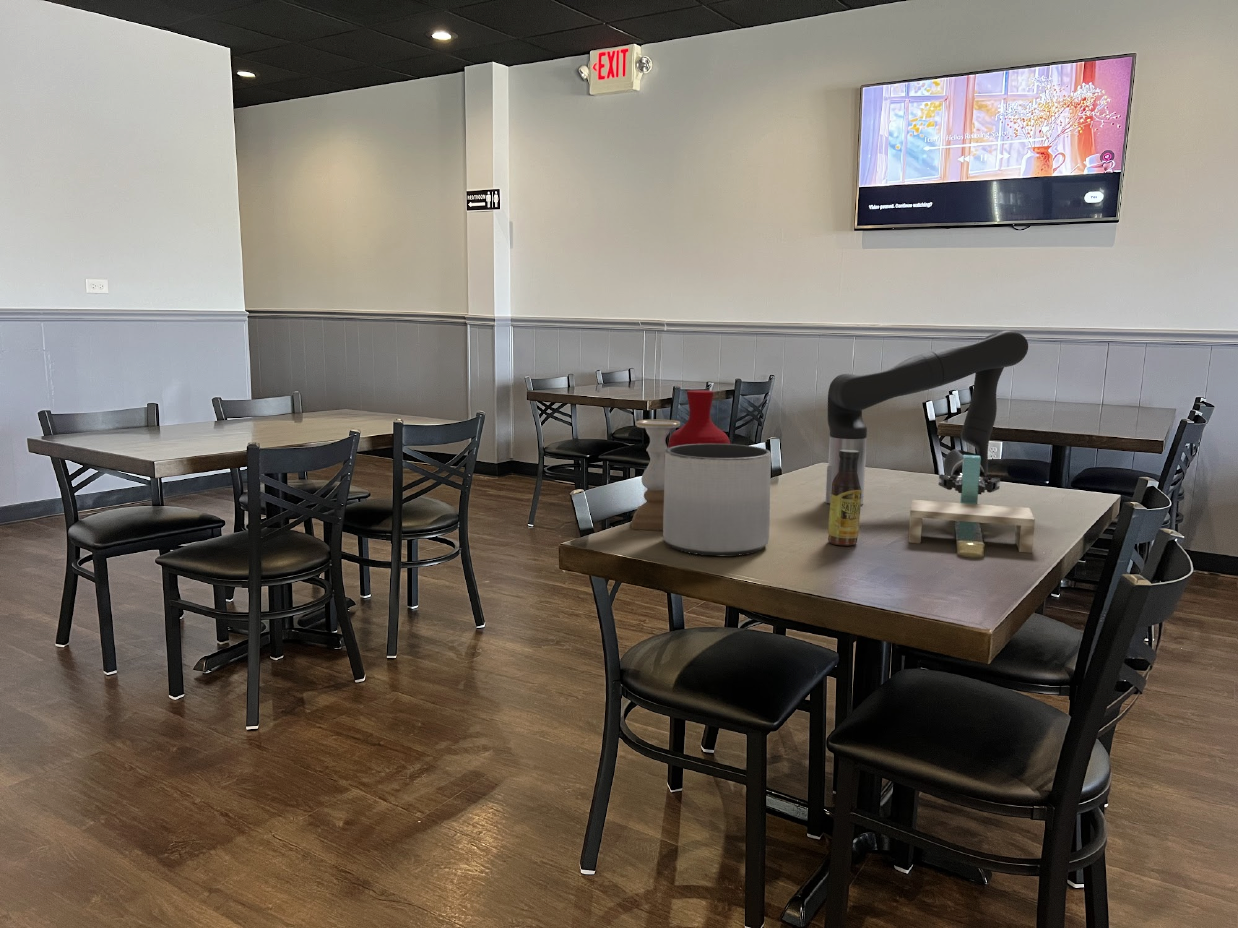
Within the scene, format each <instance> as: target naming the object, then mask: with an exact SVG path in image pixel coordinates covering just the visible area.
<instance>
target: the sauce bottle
mask: <svg viewBox="0 0 1238 928" xmlns="http://www.w3.org/2000/svg"><path fill="white" fill-rule="evenodd" d="M839 457H840V462H839V472H838V474H837V475H836V476H835V478H834V480H833V482H832V493H831V499H830V503H829V514H828V527H827V529H828V530H827V534H828V537H827V542H828V543H830V544H832V545H836V546H846V547H847V546H848V547H849V546H853V545H857V543H858V537H859V531H860V530H859V529H860V520H861V519H860V517H861V505H862V504H861V493H862V490H861V487H860V483H859V478H858V474H857V463H858V458H859V451H856V450H840V451H839Z"/></svg>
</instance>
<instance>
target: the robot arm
mask: <svg viewBox="0 0 1238 928" xmlns="http://www.w3.org/2000/svg"><path fill="white" fill-rule="evenodd" d="M1028 351H1029V342H1028V340H1027V338H1026V337H1025V336H1024V335H1023V334H1022V333H1020V332H1018V331H1015V330H1002V331H999V332H995V333H992V334H989V335H987V336H986V337H984V338H983V339H982V340H980V341H976V342H974V343H970V344H964V345H958V346H952V347H946V348H941V349H936V350H931V351H928V352H925V353H924V352H923V353H921V354H918V355H914V356H912V357H909V358H907V359H905V360H904V361H901V362H900V363H898V364H896V365H895V366H893V367H891V368H889V369H886V370H882V371H877V372H873V373H867V374H853V373H842V374H839V375H837V376H835V378H834V379H833V380H832V381H831V382H830V385H829V386H828V387H829V388H828V390H827V391H828V392H827V425H828V428H829V429H828V430H829V441H828V442H829V447H828V465H827V467H826V480H825V481H826V483H825V504H830V499H831V493H832V482H833V480H834V478H835V476H836V475H837V474H838V472H839V462H840V457H839V451H840V450H856V451H859V458H858V463H857V474H858V478H859V483H860V487H861V490H862V493H861V505H863V504H864V498H865V476H866V461H867V460H866V457H867V455H866V454H867V438H868V437H867V436H868V427H867V426H866V424H865V422H864V420H863V410H866V409H868V408H869V409H870V408H871V407H873V406H877V405H878V404H880V403H883V402H886V401H888V400H891V399H895V398H898V397H903V396H908V395H912V394H916V393H920V392H924V391H929V390H931V389H935V388H939V387H942V386H944V385H948V384H950V383H953V382H956V381H959V380H962V379H963V378H966V377H968V376H971V375H975V376H974V382H973V383H974V384H973V389H972V394H971V397H970V401H969V402H970V403H969V405H968V410H967V412H966V416H965V418H964V422H963V426H962V429H961V432H960V439H961V440H962V441H963V442H965V443H967V444H970V445H971V446H973V448H975V450H976V453H974V452H970V451H966V450H963V449H958V448H957V449H955V448H954V449H952V450H951V451H949V452H948V454H947V455H946V456H945V458H944V463H943V467H944V472H945V473H946V475H945V474H939V475H938V486H939V487H941V488H944V490H945V489H946V490H948V491H951V490H953V489H954V491H956V492H958V494H961V493H962V468H963V455H975V456H980V457H981V461H980V475H979V485H978V495H982V494H984V493H985V492H987V493H988V494H989V493H993V492H996V491H998V490H1000V486H1001V485H1000V484H1001V478H1000V477H994V478H991V479H990V480H989V478H988V477H986V476H987V474H988V472H989V471H988V470H989V444H990V439H991V435H992V432H993V428H994V425H995V422H996V419H997V410H998V409H997V407H998V406H997V403H998V402H997V389H998V385H999V380H1000V377H1001V375H1002V373H1003V371H1004V368H1007V367H1012V366H1016V365H1017V364H1019V363H1020V362H1021V361H1023V360H1024V358H1025V357H1026V356H1027V354H1028Z"/></svg>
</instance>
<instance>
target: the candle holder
mask: <svg viewBox="0 0 1238 928" xmlns="http://www.w3.org/2000/svg"><path fill="white" fill-rule="evenodd" d="M635 426H636V427H637V428H642V429H645V431H646V434H647V435H648V437H649V444H648V446H647V448H646V452H647V453H648V456H649V458H650V459H649V460H650V461H649V463H648V465H647V467H646V468H645V470H644V471H643V473H642V476H641V484H642V486H644V487H645V488H646V489H647V490H646V491H645V492H644V493H643V498H644V500H645V501H646V502H645V503H643V504H641V505H640V506H638V507H637V508H636V511H635V512H634V514H633V516H632V519H631V530H636V531H638V530H639V531H661V530H663V513H664V483H665V450H666V449H667V448H668V447H669V446H668V445H667V443H666V439H667V436H668V435H669V434H670V432H671V429H677V428H681V426H682V425H681V421H679V420H674V419H653V418H652V419H640V420H636V421H635Z"/></svg>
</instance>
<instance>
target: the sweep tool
mask: <svg viewBox="0 0 1238 928" xmlns="http://www.w3.org/2000/svg"><path fill="white" fill-rule="evenodd" d="M980 461H981V457H980V456H975V455H963V468H962V493H960V500H959V503H966V504H978V500H979V499H978V498H979V494H978V485H979V475H980ZM954 526H955V527H954V529H955V539H956V546H957V545H958V541H961V540H972V541H978V542H982V543H984V541H983V536H982V535H983V534H982V530H981V522H967V521H955V524H954Z"/></svg>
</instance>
